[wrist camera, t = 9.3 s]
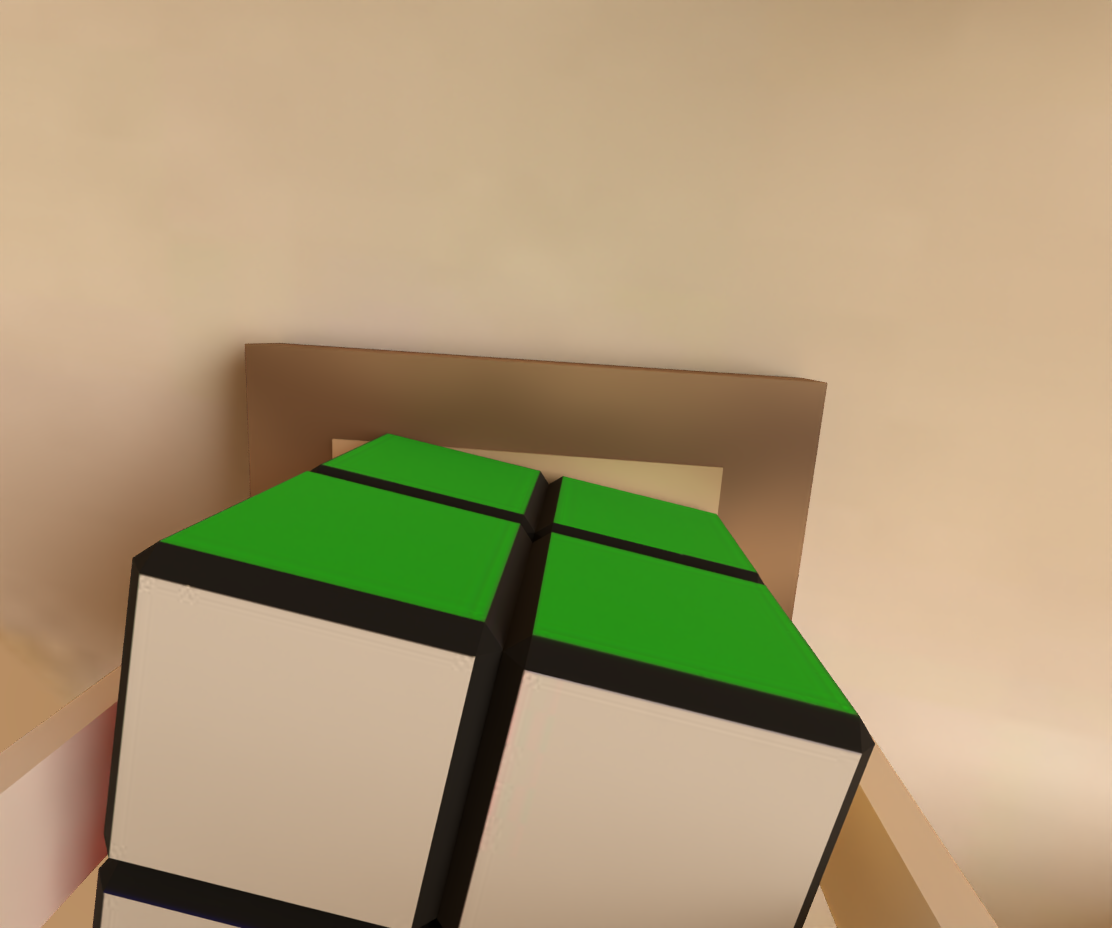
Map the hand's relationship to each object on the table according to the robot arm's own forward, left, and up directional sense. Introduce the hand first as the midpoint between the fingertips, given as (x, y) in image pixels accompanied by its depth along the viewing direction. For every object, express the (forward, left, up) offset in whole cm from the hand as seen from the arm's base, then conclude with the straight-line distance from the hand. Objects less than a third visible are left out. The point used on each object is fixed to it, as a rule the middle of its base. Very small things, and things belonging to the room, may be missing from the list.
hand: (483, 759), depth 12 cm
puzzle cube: (0, 0, -7) cm, 7 cm away
